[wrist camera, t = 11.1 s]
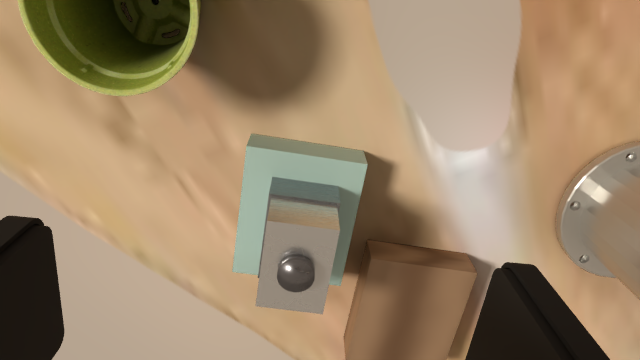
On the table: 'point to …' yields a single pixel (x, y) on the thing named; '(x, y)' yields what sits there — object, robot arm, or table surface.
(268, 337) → the table surface
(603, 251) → the robot arm
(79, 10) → the plant pot
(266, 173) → the stand teal
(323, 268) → the block
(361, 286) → the stand walnut
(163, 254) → the table surface
